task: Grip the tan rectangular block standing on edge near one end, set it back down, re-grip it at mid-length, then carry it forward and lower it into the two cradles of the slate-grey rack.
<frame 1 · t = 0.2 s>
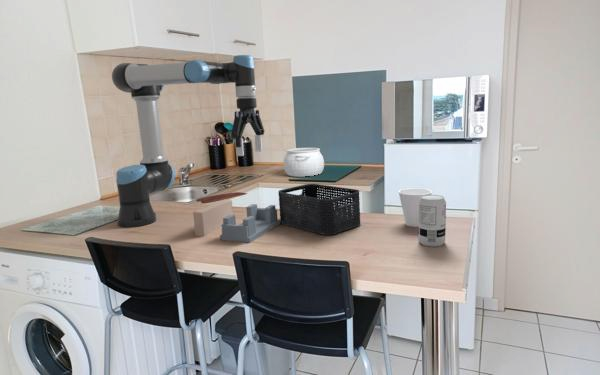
hand: (250, 153, 166), 27 cm above the worktop, fingers open, 13 cm apart
rack: (251, 230, 159), on the worktop
supplement can: (431, 243, 137), on the worktop
tan rectangular block: (215, 228, 165), on the worktop
storage bin: (319, 224, 164), on the worktop
wooden tablet: (223, 198, 220), on the worktop
cup: (414, 224, 158), on the worktop
pot: (304, 174, 278), on the worktop
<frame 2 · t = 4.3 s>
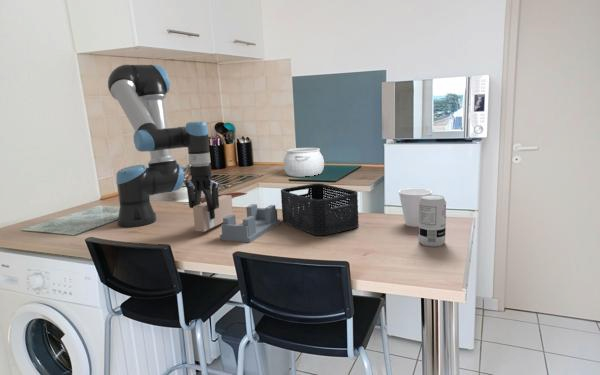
hand: (205, 226, 159), 2 cm above the worktop, fingers closed on tan rectangular block, 4 cm apart
tan rectangular block: (215, 223, 164), point 2 cm above the worktop, touching gripper
when the fingers open (0 cm above the worktop, at t = 4.9 s): tan rectangular block stays where it is, on the worktop.
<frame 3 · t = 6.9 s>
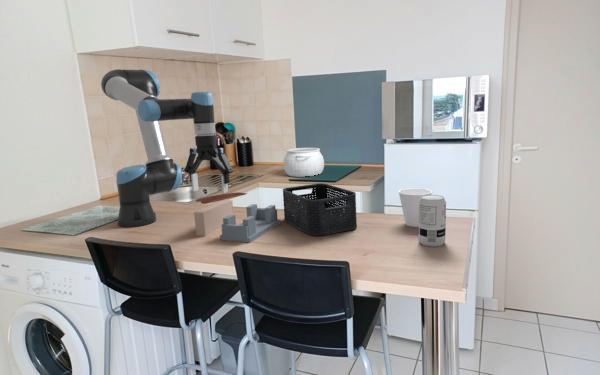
hand: (210, 191, 161), 15 cm above the worktop, fingers open, 13 cm apart
tan rectangular block: (216, 228, 165), on the worktop
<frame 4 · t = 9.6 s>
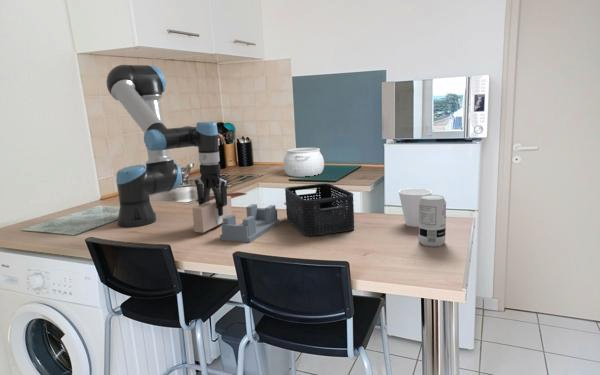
hand: (214, 223, 165), 2 cm above the worktop, fingers closed on tan rectangular block, 4 cm apart
tan rectangular block: (214, 224, 165), point 1 cm above the worktop, touching gripper
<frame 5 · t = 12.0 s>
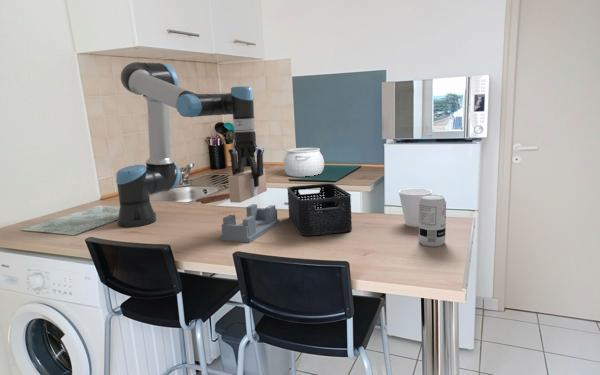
hand: (249, 195, 156), 14 cm above the worktop, fingers closed on tan rectangular block, 4 cm apart
tan rectangular block: (249, 196, 156), point 13 cm above the worktop, touching gripper
when the fingers open (3 cm above the worktop, at t = 14.1 s): tan rectangular block stays where it is, resting on rack.
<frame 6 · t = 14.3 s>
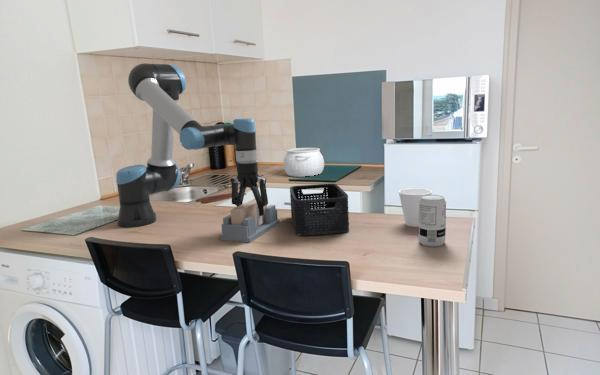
hand: (251, 223, 158), 3 cm above the worktop, fingers open, 7 cm apart
tan rectangular block: (251, 227, 158), point 2 cm above the worktop, touching rack
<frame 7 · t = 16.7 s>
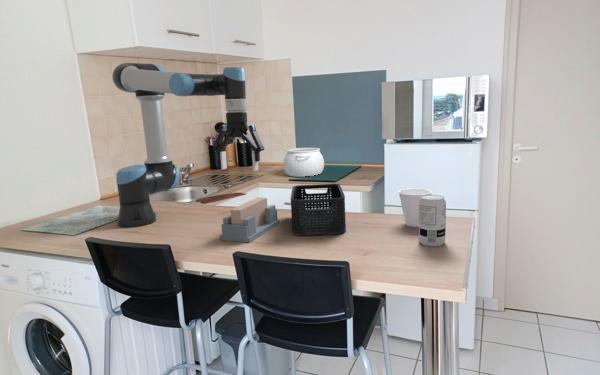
hand: (239, 169, 158), 23 cm above the worktop, fingers open, 13 cm apart
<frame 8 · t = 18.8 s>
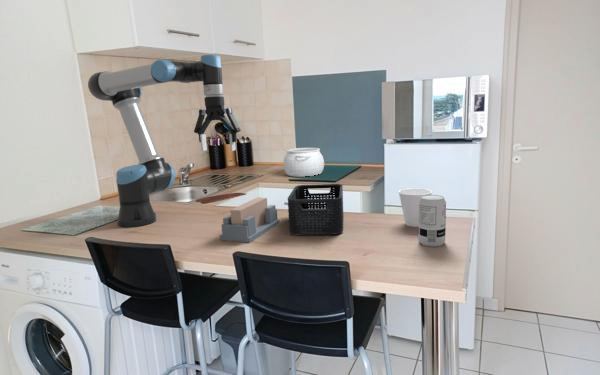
hand: (218, 150, 170), 29 cm above the worktop, fingers open, 13 cm apart
at the end: tan rectangular block 0.1 cm off-centre on the rack, point 1.5 cm above the rack's base; tan rectangular block tilted 0°; the gripper is holding nothing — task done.
